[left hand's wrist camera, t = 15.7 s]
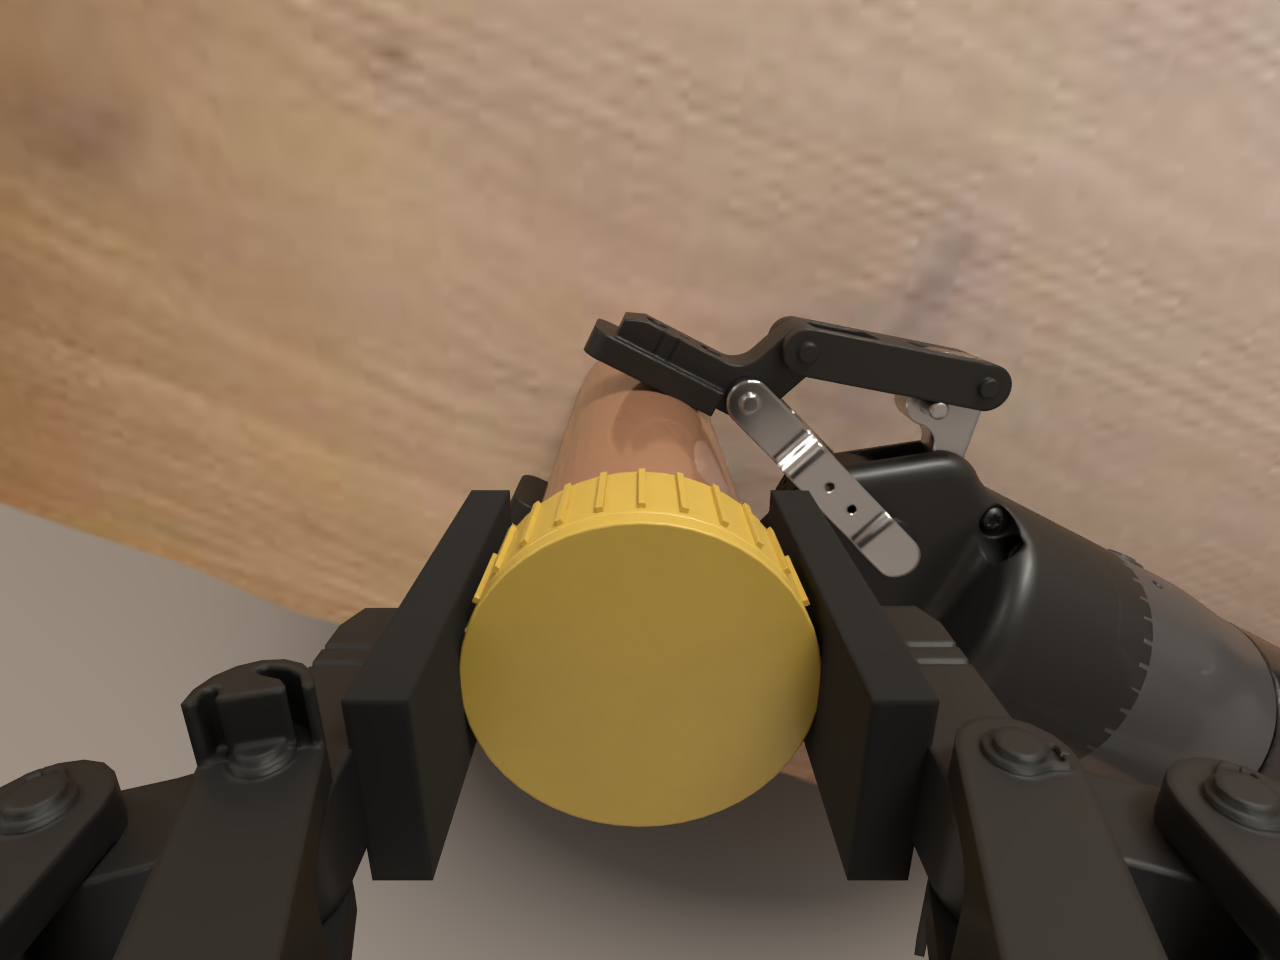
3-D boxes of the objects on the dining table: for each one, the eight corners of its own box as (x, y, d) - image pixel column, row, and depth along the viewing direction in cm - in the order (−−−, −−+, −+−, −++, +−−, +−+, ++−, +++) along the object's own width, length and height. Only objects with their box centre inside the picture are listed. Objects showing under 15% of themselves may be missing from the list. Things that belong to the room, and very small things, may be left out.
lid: (862, 616, 12) (903, 690, 10) (638, 789, 13) (638, 883, 11) (642, 396, 11) (643, 435, 9) (418, 612, 12) (376, 686, 10)
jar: (590, 333, 25) (517, 499, 10) (714, 358, 25) (820, 556, 10) (569, 452, 26) (478, 749, 11) (686, 474, 26) (744, 791, 12)
